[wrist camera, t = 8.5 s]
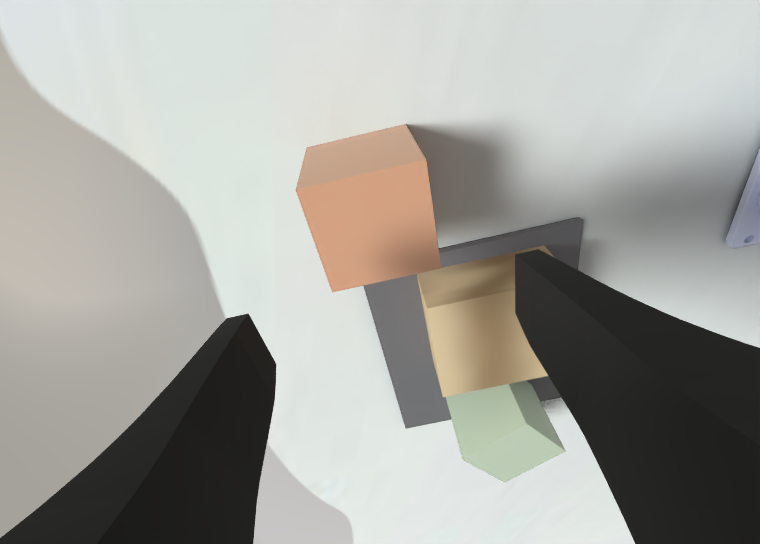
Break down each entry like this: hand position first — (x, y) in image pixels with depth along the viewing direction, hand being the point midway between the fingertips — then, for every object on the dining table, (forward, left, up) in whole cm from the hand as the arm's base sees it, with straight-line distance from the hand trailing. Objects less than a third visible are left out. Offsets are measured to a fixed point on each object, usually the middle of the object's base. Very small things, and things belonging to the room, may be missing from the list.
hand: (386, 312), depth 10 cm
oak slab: (-5, +9, -9) cm, 14 cm away
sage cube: (-5, +17, -9) cm, 20 cm away
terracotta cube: (0, 0, -10) cm, 10 cm away
